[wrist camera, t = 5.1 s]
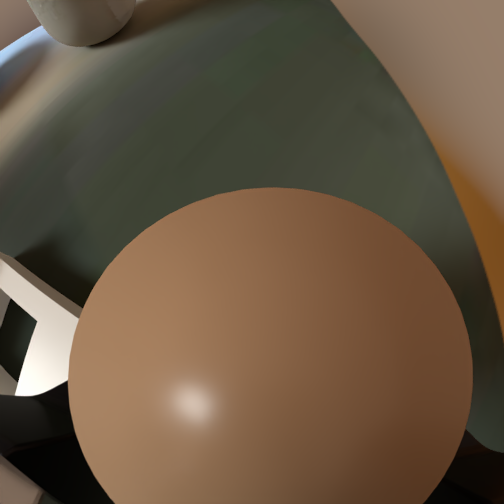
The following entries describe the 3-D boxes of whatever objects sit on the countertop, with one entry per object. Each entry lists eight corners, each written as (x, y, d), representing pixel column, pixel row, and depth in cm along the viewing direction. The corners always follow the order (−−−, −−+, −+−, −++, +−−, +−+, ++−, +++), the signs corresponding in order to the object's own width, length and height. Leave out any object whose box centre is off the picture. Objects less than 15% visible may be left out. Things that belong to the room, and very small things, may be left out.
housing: (134, 340, 16) (85, 336, 11) (81, 483, 13) (35, 508, 9) (13, 257, 18) (-34, 236, 13) (-26, 381, 15) (-71, 380, 11)
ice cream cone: (323, 332, 15) (507, 275, 3) (292, 403, 15) (358, 592, 2) (252, 303, 16) (171, 141, 3) (220, 373, 15) (34, 458, 2)
